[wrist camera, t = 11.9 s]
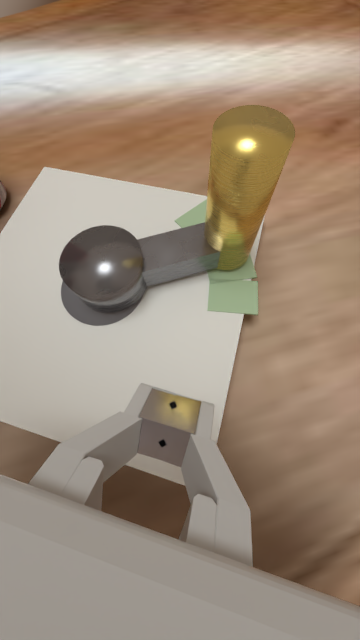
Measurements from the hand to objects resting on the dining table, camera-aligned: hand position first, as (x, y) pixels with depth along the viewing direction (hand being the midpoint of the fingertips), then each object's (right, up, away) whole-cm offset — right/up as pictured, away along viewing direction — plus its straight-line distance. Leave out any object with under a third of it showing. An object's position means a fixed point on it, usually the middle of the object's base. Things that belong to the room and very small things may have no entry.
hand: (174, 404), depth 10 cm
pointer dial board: (-6, +6, +13) cm, 15 cm away
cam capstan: (-1, +8, +11) cm, 13 cm away
